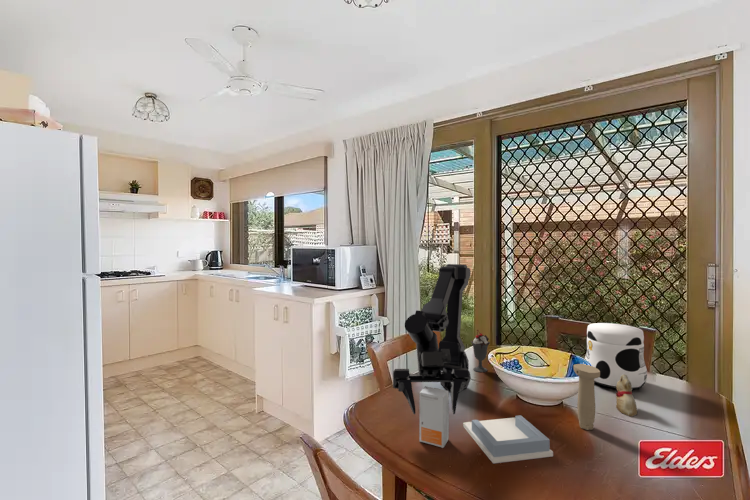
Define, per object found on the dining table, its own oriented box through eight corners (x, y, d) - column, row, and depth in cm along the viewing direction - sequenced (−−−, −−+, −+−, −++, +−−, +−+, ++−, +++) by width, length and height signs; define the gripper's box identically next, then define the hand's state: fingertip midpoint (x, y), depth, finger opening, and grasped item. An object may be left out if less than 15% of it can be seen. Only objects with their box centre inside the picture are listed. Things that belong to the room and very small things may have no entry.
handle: (586, 420, 98) (586, 363, 97) (604, 433, 92) (604, 372, 91) (569, 421, 97) (569, 364, 97) (585, 434, 91) (586, 373, 91)
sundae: (471, 372, 133) (471, 330, 133) (470, 366, 140) (470, 326, 139) (491, 373, 132) (491, 331, 132) (488, 367, 139) (488, 326, 138)
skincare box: (418, 442, 89) (418, 392, 88) (425, 433, 92) (424, 385, 92) (443, 448, 86) (443, 396, 85) (449, 439, 90) (449, 390, 89)
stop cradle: (463, 426, 96) (463, 412, 96) (514, 421, 98) (514, 408, 98) (493, 463, 80) (493, 447, 80) (553, 456, 82) (553, 440, 82)
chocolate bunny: (641, 408, 105) (641, 372, 104) (634, 418, 99) (635, 380, 99) (618, 402, 109) (618, 367, 108) (610, 411, 103) (610, 375, 103)
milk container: (575, 372, 132) (575, 321, 132) (628, 374, 130) (629, 322, 129) (597, 392, 115) (597, 334, 115) (659, 395, 113) (660, 335, 112)
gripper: (392, 336, 93) (395, 400, 82) (468, 336, 93) (481, 399, 82) (391, 358, 101) (394, 418, 90) (461, 357, 101) (472, 418, 90)
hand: (434, 413), depth 88 cm, fingers open, 9 cm apart
